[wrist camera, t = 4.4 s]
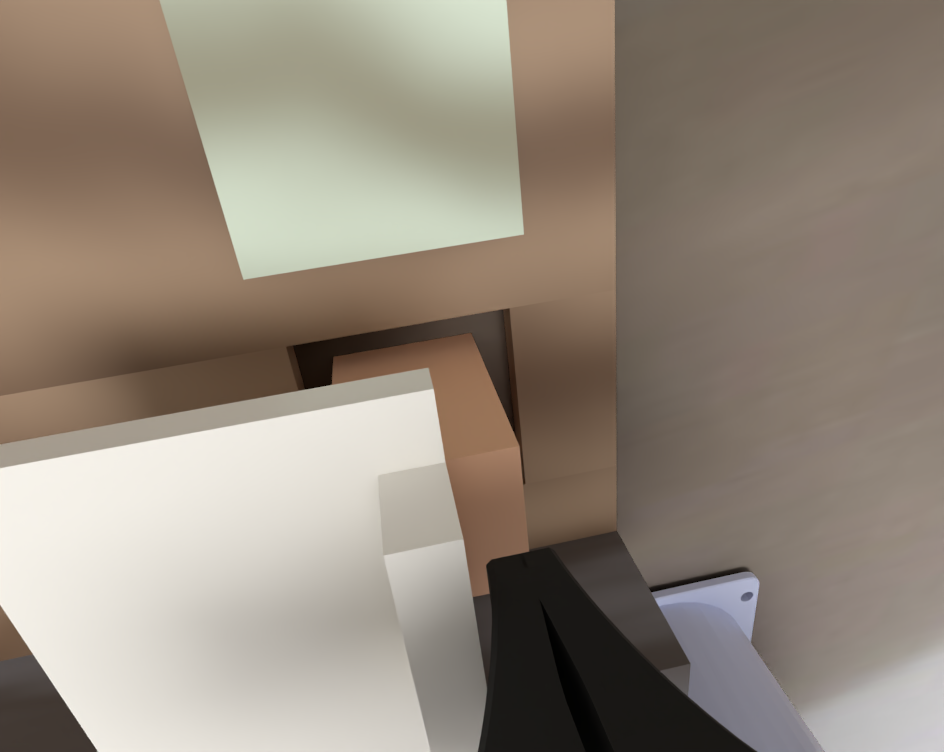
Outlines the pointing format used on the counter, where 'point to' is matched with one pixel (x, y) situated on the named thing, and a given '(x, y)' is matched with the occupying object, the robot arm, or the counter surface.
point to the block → (464, 442)
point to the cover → (250, 575)
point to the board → (313, 236)
